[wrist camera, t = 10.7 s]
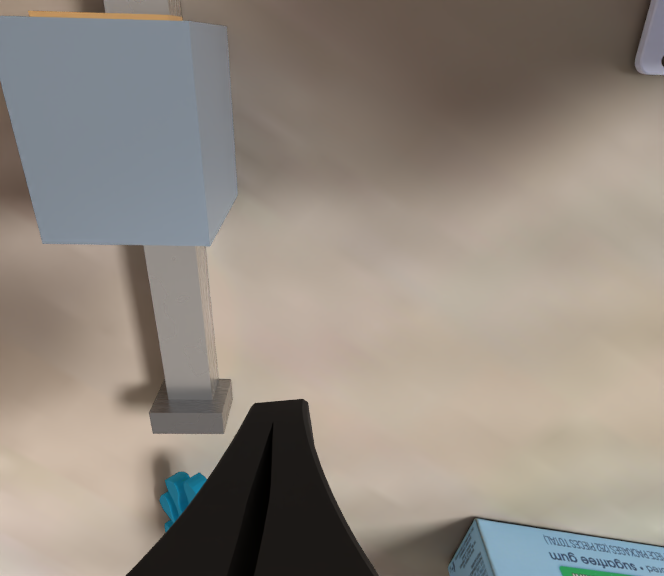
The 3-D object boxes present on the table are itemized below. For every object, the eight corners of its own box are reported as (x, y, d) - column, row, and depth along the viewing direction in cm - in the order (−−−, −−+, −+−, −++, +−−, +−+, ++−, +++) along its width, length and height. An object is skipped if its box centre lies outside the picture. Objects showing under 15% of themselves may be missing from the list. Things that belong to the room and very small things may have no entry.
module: (226, 21, 17) (188, 14, 12) (237, 194, 20) (210, 246, 15) (80, 17, 17) (-19, 8, 12) (112, 192, 20) (42, 243, 15)
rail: (179, -209, 14) (154, -253, 12) (232, 399, 24) (223, 433, 22) (67, -214, 14) (22, -258, 12) (167, 398, 24) (152, 433, 22)
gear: (150, 444, 24) (282, 628, 19) (250, 393, 27) (381, 533, 22) (148, 558, 30) (246, 719, 25) (230, 503, 34) (329, 632, 29)
